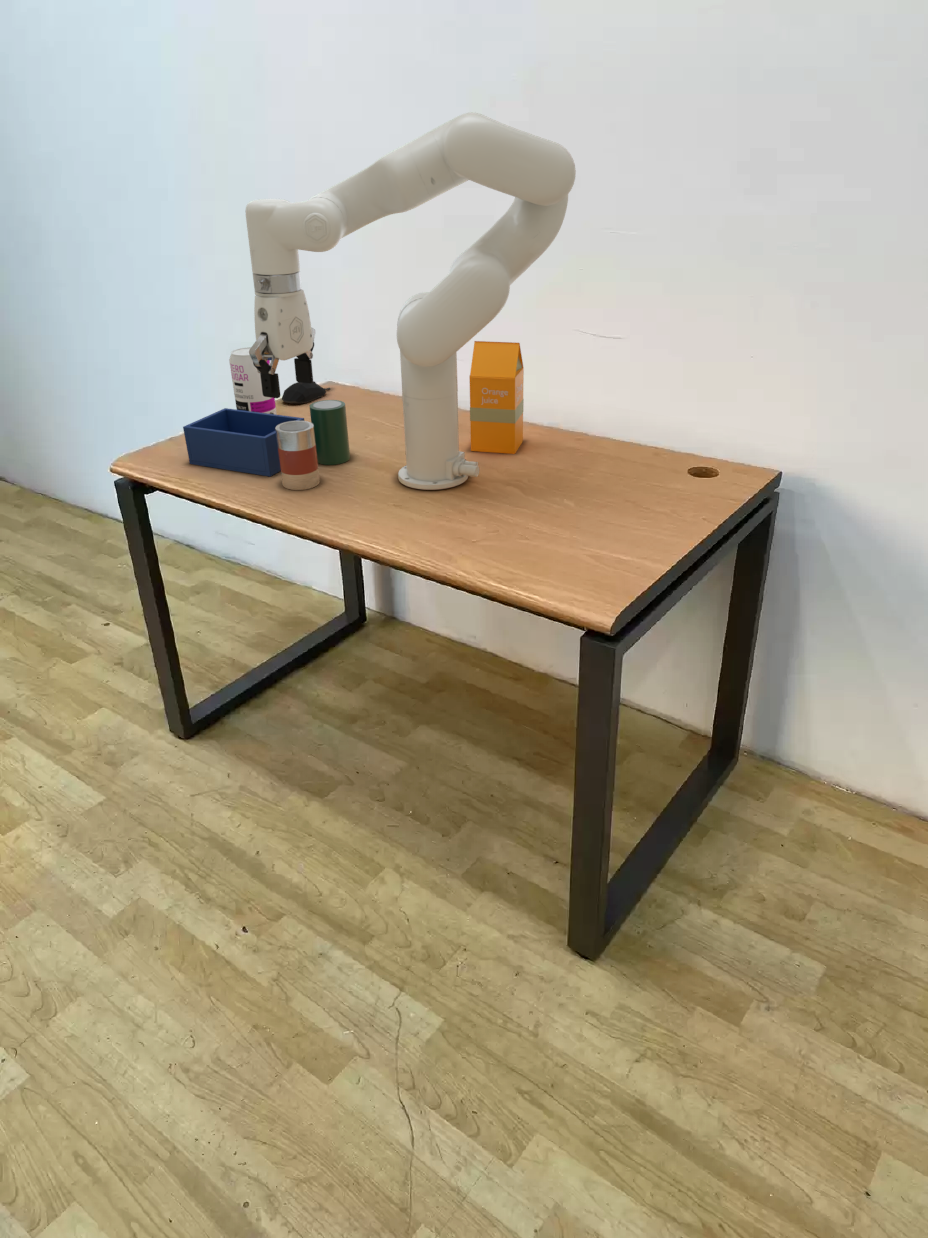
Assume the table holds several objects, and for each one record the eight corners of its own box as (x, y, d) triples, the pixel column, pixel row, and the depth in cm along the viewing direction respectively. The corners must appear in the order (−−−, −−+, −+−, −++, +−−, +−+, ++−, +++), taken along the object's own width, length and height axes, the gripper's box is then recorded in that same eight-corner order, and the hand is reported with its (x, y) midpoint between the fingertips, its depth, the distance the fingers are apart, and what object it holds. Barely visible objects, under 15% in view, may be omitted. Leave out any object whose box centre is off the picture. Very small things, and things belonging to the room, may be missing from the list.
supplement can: (281, 416, 196) (273, 346, 189) (271, 428, 189) (261, 356, 182) (245, 416, 197) (235, 346, 190) (233, 428, 190) (222, 356, 183)
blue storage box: (308, 454, 174) (304, 417, 171) (270, 476, 165) (265, 438, 161) (230, 443, 181) (225, 407, 178) (189, 463, 171) (182, 426, 168)
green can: (356, 455, 173) (351, 401, 168) (338, 466, 168) (333, 411, 163) (327, 451, 176) (321, 397, 171) (308, 462, 171) (302, 407, 165)
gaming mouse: (340, 391, 213) (338, 374, 211) (296, 407, 202) (294, 389, 200) (319, 387, 216) (318, 370, 214) (276, 403, 205) (274, 385, 203)
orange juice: (515, 454, 172) (515, 347, 162) (470, 451, 174) (468, 345, 164) (523, 440, 178) (524, 337, 168) (480, 438, 181) (478, 336, 171)
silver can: (327, 479, 163) (321, 422, 157) (306, 492, 157) (299, 433, 152) (296, 474, 165) (289, 418, 160) (275, 487, 160) (267, 429, 155)
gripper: (264, 294, 137) (277, 405, 145) (326, 276, 150) (334, 379, 159) (224, 291, 139) (239, 400, 148) (289, 274, 153) (299, 375, 162)
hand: (288, 389), depth 153 cm, fingers open, 9 cm apart
